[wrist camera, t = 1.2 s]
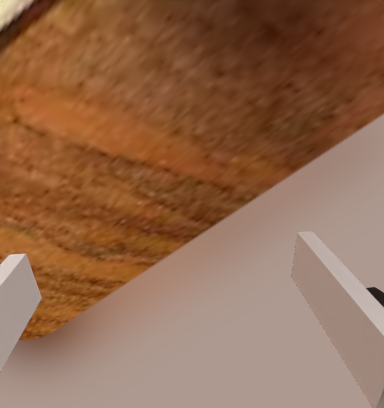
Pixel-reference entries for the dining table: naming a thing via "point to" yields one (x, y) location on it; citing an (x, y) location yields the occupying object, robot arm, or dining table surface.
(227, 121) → the dining table surface
